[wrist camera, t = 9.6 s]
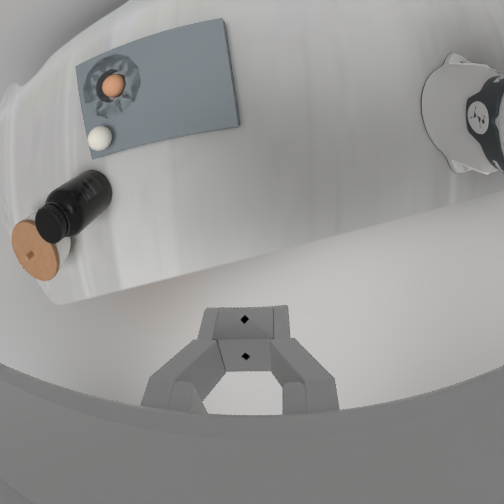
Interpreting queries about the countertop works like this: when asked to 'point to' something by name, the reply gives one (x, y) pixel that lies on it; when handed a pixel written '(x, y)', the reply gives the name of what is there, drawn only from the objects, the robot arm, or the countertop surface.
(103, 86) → the terracotta ball
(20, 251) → the lidded jar
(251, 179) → the countertop surface
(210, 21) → the plate
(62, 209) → the supplement bottle
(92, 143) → the cream ball
